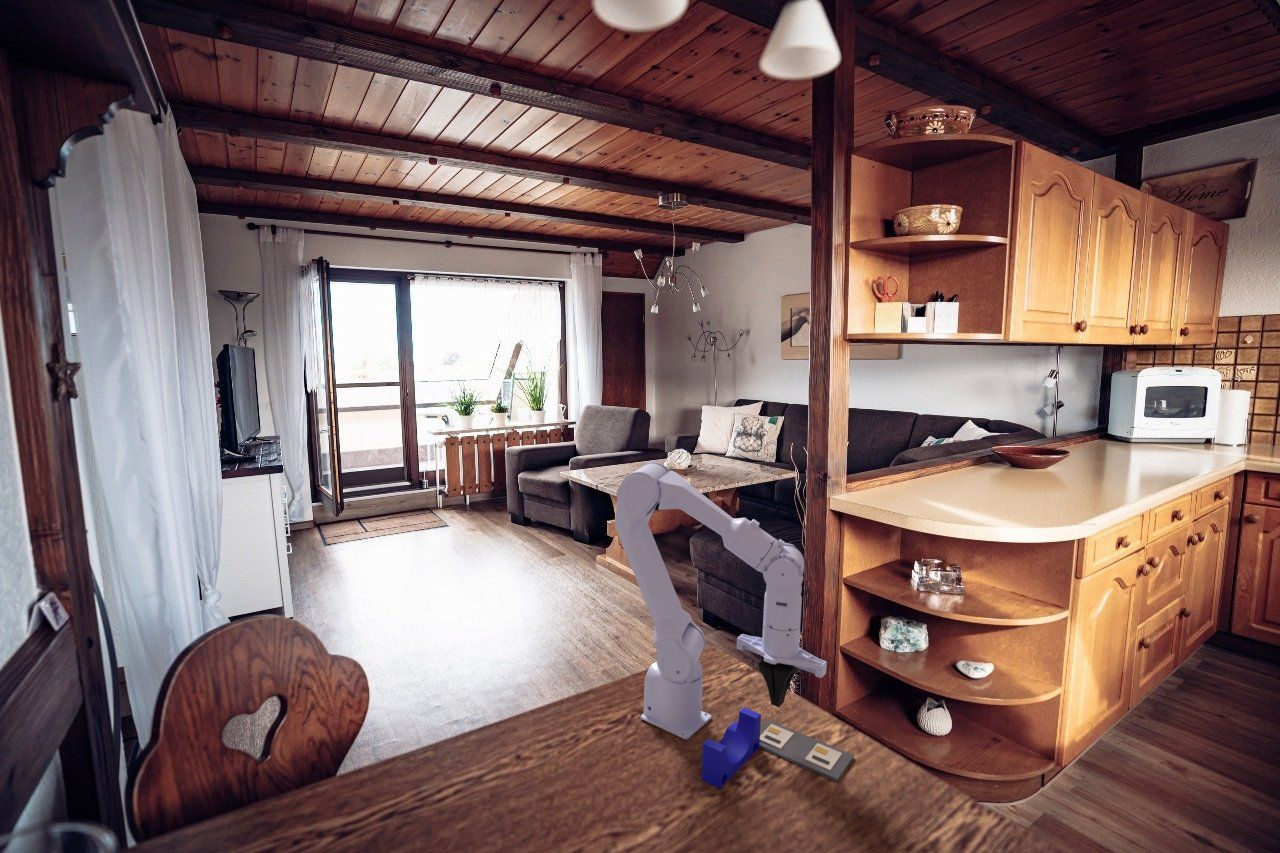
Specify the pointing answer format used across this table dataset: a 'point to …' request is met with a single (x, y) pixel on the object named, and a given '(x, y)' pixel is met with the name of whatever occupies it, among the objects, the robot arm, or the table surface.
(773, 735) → the label board
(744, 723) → the cable clip
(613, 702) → the table surface
